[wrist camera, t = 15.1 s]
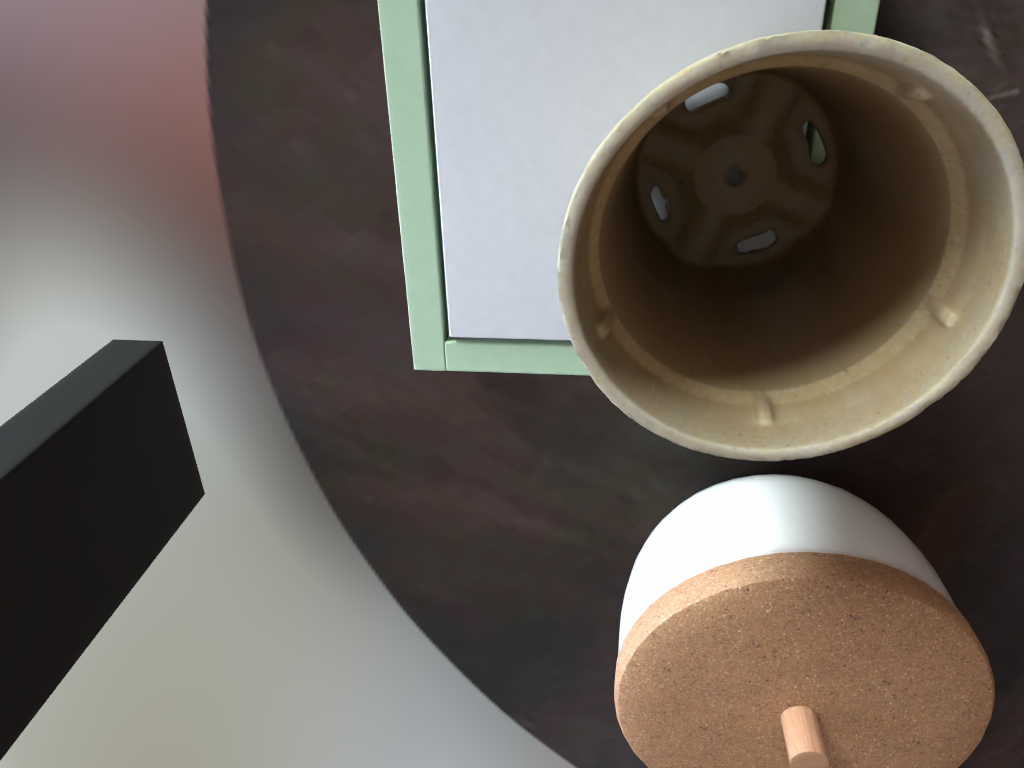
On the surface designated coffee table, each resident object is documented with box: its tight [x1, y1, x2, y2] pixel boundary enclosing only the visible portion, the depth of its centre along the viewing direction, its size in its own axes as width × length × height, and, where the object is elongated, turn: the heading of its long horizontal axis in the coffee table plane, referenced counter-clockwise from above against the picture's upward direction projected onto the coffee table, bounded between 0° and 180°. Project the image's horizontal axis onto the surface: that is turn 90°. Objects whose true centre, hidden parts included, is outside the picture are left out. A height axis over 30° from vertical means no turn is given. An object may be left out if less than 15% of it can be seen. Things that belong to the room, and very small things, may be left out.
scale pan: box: [425, 0, 827, 340], centre depth 25 cm, size 11×11×2 cm
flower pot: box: [557, 30, 1024, 461], centre depth 20 cm, size 9×9×9 cm
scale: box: [378, 0, 880, 375], centre depth 26 cm, size 15×14×4 cm
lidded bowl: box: [614, 474, 995, 768], centre depth 30 cm, size 13×13×11 cm
